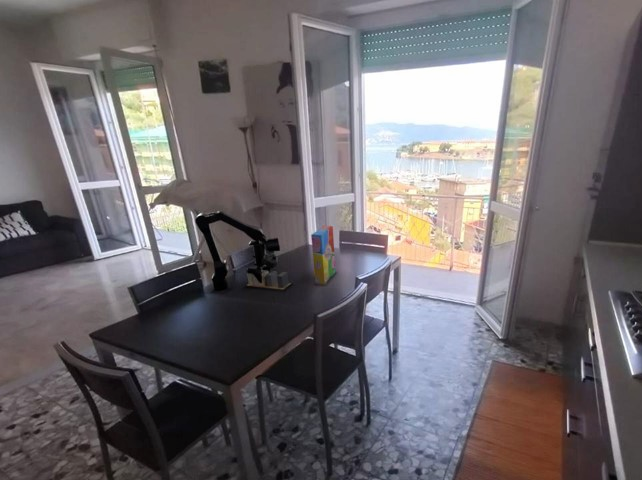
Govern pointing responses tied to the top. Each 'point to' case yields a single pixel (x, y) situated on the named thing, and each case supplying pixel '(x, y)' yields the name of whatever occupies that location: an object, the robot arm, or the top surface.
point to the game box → (323, 254)
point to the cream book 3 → (263, 278)
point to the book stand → (267, 286)
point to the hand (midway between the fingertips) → (264, 280)
